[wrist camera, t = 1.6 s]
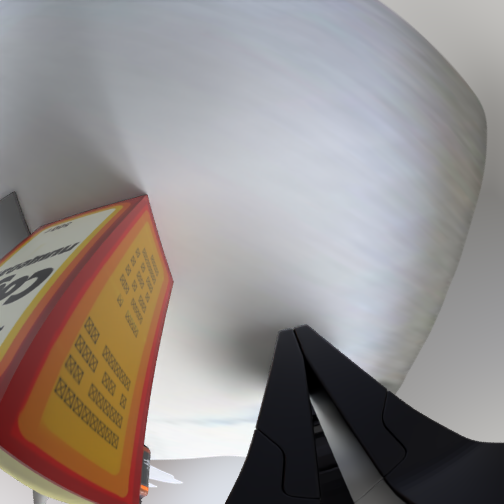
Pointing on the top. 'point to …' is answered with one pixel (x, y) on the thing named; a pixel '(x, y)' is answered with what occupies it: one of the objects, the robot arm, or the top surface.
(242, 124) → the top surface
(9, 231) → the mat
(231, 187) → the top surface
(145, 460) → the supplement bottle
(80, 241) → the baking soda box
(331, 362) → the robot arm
